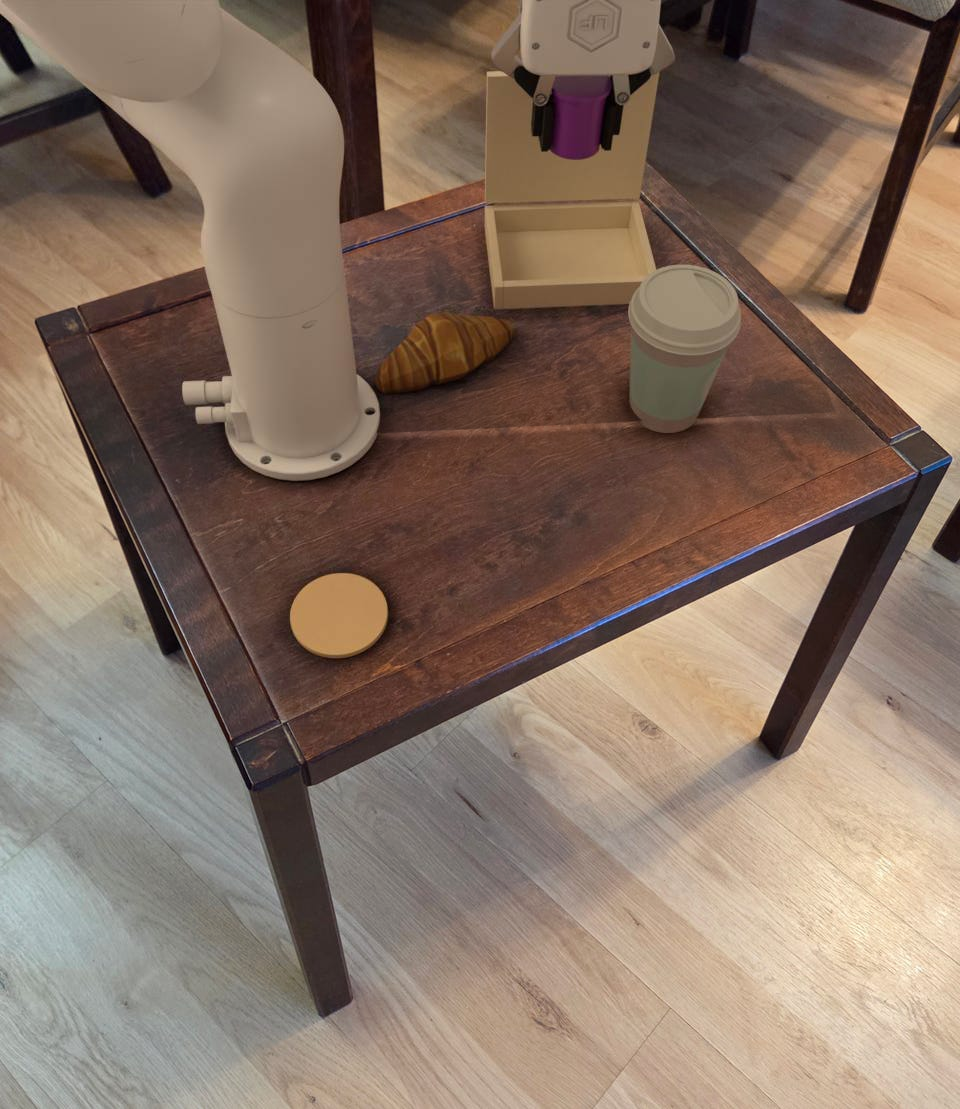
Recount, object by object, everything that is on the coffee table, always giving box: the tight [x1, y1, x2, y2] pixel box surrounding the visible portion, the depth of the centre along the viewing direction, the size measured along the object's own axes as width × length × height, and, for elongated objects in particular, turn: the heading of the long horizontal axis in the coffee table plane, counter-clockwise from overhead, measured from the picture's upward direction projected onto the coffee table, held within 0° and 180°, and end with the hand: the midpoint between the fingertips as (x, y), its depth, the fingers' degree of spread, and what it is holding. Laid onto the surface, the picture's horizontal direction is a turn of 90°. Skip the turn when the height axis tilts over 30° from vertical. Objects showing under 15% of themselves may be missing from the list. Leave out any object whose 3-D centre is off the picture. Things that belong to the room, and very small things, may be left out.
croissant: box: [373, 311, 516, 395], centre depth 89 cm, size 14×7×5 cm, turn 122°
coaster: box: [289, 572, 389, 659], centre depth 76 cm, size 7×7×1 cm
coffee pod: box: [550, 75, 612, 160], centre depth 85 cm, size 5×5×6 cm
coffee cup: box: [627, 264, 742, 434], centre depth 84 cm, size 9×8×12 cm
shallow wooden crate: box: [484, 199, 657, 310], centre depth 97 cm, size 12×15×3 cm
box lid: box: [484, 70, 660, 205], centre depth 95 cm, size 12×15×6 cm
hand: (574, 139), depth 87 cm, fingers closed on coffee pod, 4 cm apart
